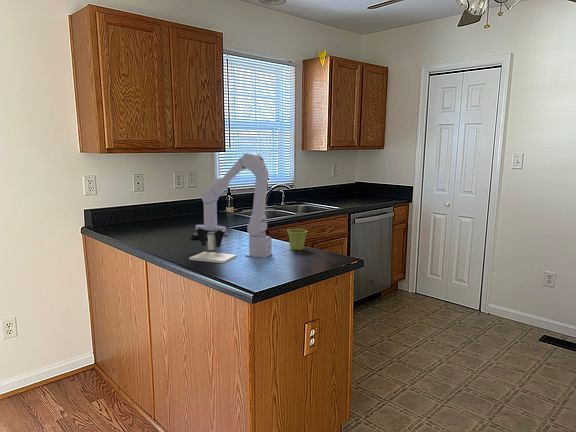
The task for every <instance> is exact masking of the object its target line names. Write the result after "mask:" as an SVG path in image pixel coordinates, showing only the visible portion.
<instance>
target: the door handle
mask: <svg viewBox="0 0 576 432" xmlns="http://www.w3.org/2000/svg"><path fill="white" fill-rule="evenodd" d="M208 232H214V237H215V232H216V231H211V230H207V232H206V241H208ZM228 236H229V234H228V233H227V232H225V233H224V235H223V237H228ZM190 238H191V239H192V240H200V238H199V236H198V234H197V232H194V233H192V234H191V236H190Z"/></svg>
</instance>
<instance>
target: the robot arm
mask: <svg viewBox="0 0 576 432" xmlns="http://www.w3.org/2000/svg"><path fill="white" fill-rule="evenodd" d="M245 170H248V171H250V172H251V173H252V174H253V175H254V176H255V183H254V193H253V203H252V212H251V215H250V218H249V222H248V224H247V227H246V231H247V233H248V242H249V243H248V253H247V254H245V256H246V257H253V258H254V257H255V258H263V259H266V258H268V257H270V256H271V255H273V253H272V247H273V245H272V244H273V242H272V237H271V235H270V236H269V235H267V234H266V230H267V229H268V222H267V215H266V203H267V202H266V201H267V192H268V182H269V170H268V168H267V166H266V164H265V160H264V158H263V157H262V156H261V155H260V154H259V153H257V152H255V153H250V152H247V153H244V154H243V155H242V156H241V157H239V158H238V159H237V161H236V162H235V163H234V164H233V165H232V167H230V169H229V170H228V171H227V172H226V174H224V176H219V177H216V178H214V182H213V183H212V184H211V185H209V186H208V187H207V189H204V190H203V191H202V193H201V195H200V198H201V200H202V203H203V224H196V225H195V231H196V232H197V234H198V236H199V238H200V239H199V241H200V244H201V247H204V246H206V244H207V240H206V232H207V230H211V231H215V236H214V238H215V247H216V248H220V247H221V244H222V243H221V242H222V240H223V237H224V236H223V235H224V233H226V232H227V227H226V226H222V225H218V213H217V212H218V209H217V208H218V206H217V205H218V203H217V202H218V201H219V198H220V196H221V195H222V194H223V193H224V192H225V191H226V190H227V189H228V187H230V181H232V180H233V179H234V178H235V177H237V175H239V173H240V172H241V171H245ZM196 232H195V233H196Z"/></svg>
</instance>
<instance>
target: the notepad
mask: <svg viewBox="0 0 576 432" xmlns="http://www.w3.org/2000/svg"><path fill="white" fill-rule="evenodd" d="M236 257H238V255H237V254H233V253H231V254H230V253H222V252H215V251H214V252H208V251H203V252H199V253H198V254H194V255H192V256H189V257H188V260H189V261H198V262H207V263H209V262H210V263H216V264H225V263H227V262H229V261H231V260H234V259H235V258H236Z"/></svg>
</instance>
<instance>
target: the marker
mask: <svg viewBox="0 0 576 432" xmlns="http://www.w3.org/2000/svg"><path fill="white" fill-rule="evenodd" d="M207 252H214V253H215V236H214V232H208V240H207Z"/></svg>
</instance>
